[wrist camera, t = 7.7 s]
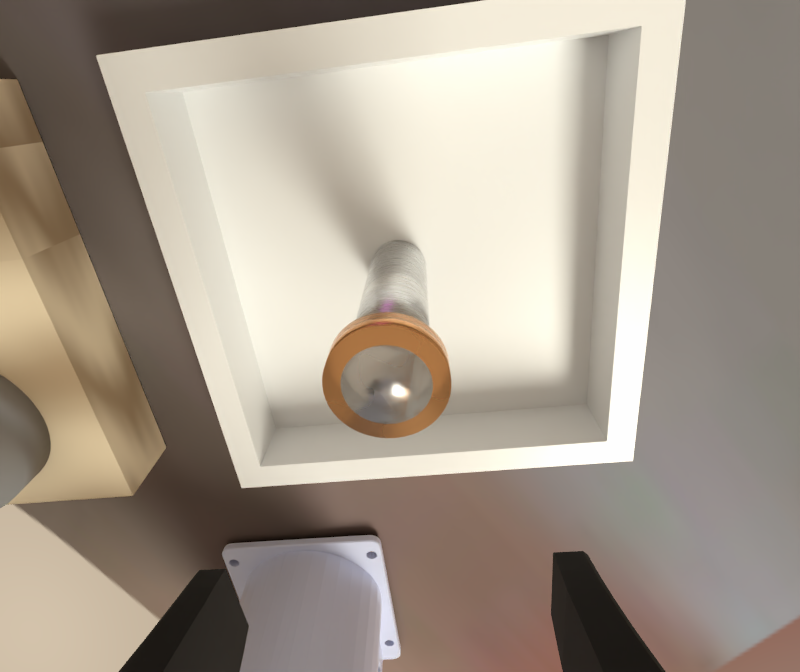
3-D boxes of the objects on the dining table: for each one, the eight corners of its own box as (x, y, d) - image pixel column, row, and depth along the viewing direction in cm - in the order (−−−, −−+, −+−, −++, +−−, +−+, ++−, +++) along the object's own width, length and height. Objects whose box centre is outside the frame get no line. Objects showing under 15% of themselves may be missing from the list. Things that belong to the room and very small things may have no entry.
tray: (605, 413, 21) (632, 460, 19) (262, 440, 22) (241, 488, 20) (638, -8, 15) (688, -29, 12) (150, 60, 16) (95, 55, 13)
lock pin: (440, 298, 18) (456, 432, 11) (366, 306, 19) (335, 442, 12) (433, 224, 17) (445, 320, 10) (353, 233, 17) (309, 335, 10)
